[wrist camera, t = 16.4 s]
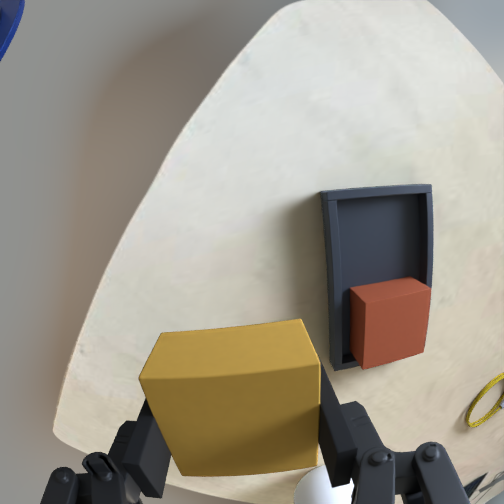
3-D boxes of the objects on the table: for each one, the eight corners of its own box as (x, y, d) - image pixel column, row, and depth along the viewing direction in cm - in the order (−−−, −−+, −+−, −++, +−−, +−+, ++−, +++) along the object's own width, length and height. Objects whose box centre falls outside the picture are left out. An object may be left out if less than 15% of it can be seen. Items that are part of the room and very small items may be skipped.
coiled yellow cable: (491, 422, 36) (496, 427, 34) (453, 425, 34) (458, 432, 32) (524, 373, 34) (529, 377, 32) (493, 367, 32) (499, 373, 30)
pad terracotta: (349, 287, 27) (365, 303, 23) (410, 276, 27) (431, 288, 23) (349, 349, 28) (362, 370, 24) (406, 335, 28) (423, 352, 25)
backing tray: (320, 191, 25) (326, 191, 23) (420, 183, 25) (431, 184, 23) (329, 361, 29) (334, 371, 27) (416, 339, 29) (424, 347, 27)
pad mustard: (160, 332, 14) (137, 377, 10) (301, 317, 14) (320, 362, 10) (190, 427, 15) (181, 476, 12) (304, 417, 15) (317, 466, 12)
